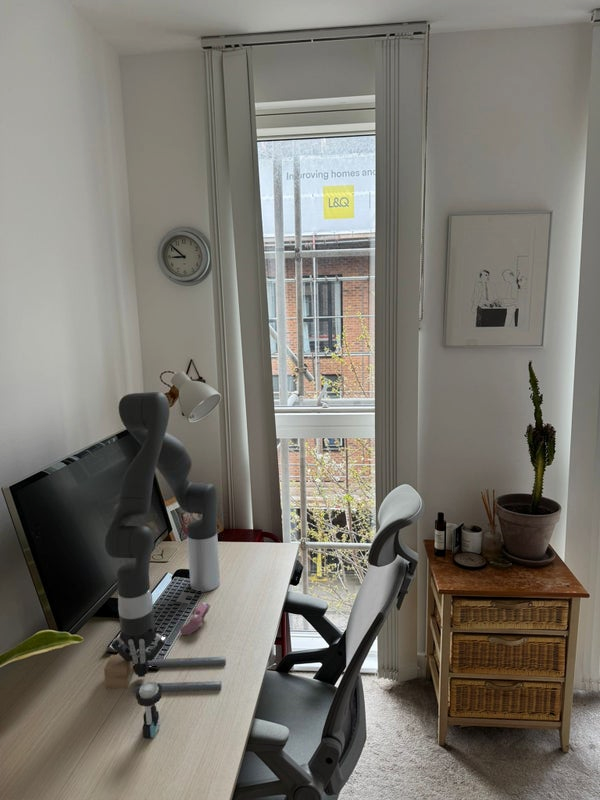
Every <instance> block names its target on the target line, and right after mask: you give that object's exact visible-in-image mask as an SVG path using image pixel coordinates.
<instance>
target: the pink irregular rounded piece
mask: <svg viewBox="0 0 600 800" xmlns="http://www.w3.org/2000/svg"><path fill="white" fill-rule="evenodd" d="M210 609H211V604H209V603H207V602H201V603H200V604H199V605H198V606H196V607H195V608H194V609H193V610H192V613H191V615H192V616H191V619H190V620H189V621H188V622H187V623H186V624H184V625H183V626H182V627H181V629H180V630H179V631H180V634H181V635H182V636H188V635H190V634H192V633H194V632H196V631H197V630H198V629H199V627H200V628H201V627H202V626H203V624H204V623H203V622H204V621H205V617H206V615H207V614H208V613H209V611H210Z"/></svg>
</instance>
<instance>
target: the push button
mask: <svg viewBox="0 0 600 800" xmlns="http://www.w3.org/2000/svg"><path fill="white" fill-rule="evenodd" d="M158 683H159V682H156V681H152V680H151V681H146V682H144V683H141V684H142V685H141V687H139V688H138V690H137V691H136V693H134V696H135V699H136V701H137V704H138V705H139V706H141V707H142V706H143V707H144V708H145V711H144V713H143V717H142V718H143V725H142V736H143V739H151V738H152V739H153V738H155V734H156V731H157V729H158V730H160V727H161V721H160V719H159V718H160V714H159V709H158V708H157V706H156V704H157V703H158V702H159V701H160V700H161V699H162V694H163V692H162V686H161V685H160V684H158Z"/></svg>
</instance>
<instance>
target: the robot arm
mask: <svg viewBox="0 0 600 800" xmlns="http://www.w3.org/2000/svg"><path fill="white" fill-rule="evenodd" d="M170 409H171V407H170V402H169V399H168V397H167V395H165V394H164V393H162V392H160V391H151V392H134V393H133V392H132V393H128V394H126V395H123V396H122V398H121V399H120V400H119V403H118V414H119V415H118V416H119V418H120V421H121V422H122V424H123V426H124V428H125V429H126V430H127V431H128V433H130V434H131V436H132V437H133V438H134V439H135V440H136V441H137V442H138V443H139V444H140V446H141V448H140V449H139V452H138V453H137V454H136V456H135V457H133V460H132V461H131V462H130V464H129V466H128V467H127V469H126V470H125V472H124V475H123V477H122V481H121V485H120V492H119V501H118V505H117V508H116V511H115V514H114V517H113V519H112V521H111V523H110V525H109V528H108V530H107V532H106V535H105V540H104V549H105V552H106V554H107V555H108V556H109V557H111V558H115V559H135V561H131V562H128V563H125V564H123V565H121V566H120V567H119V568H118V569H117V572H116V584H117V593H118V595H117V596H118V599H117V604H118V607H117V609H118V616H119V624H120V632H119V636H115V637H114V638H113V640H112V643H111V648H112V649H113V650H114V651H115V652H116V653H117V655H120V656H121V657H122V658H123V659H124V660H125V661H127V662H129V661H132V662H133V667H134V673H135V675H137V677H138V678H144V677H146V675H147V674H148V671H149V666H148V661H152V660H153V659H155V657H156V656H157V654H158V653H159V652H160V651H161V650H162V649H163V647H164V645H165V643H166V640H167V638H168V637H167V635H165V634H162V635H161V634H159V633H158V629H157V628H156V626H155V618H154V617H155V616H154V606H153V605H154V603H153V602H154V601H153V594H152V591H151V583H150V573H149V572H150V563H151V559H152V558H151V557H152V553H153V548H154V544H155V536H154V533H153V531H152V529H151V528H149V527H148V526H146V525H129V524H130V522H131V521H132V520H133V519H135V518H138V517H143V516H146V515H148V514H149V512H150V509H151V503H152V502H151V501H152V493H153V485H154V477H155V474H156V469H157V470H158V471H159V473H160V475H162V477H163V478H164V480H165V481H166V483H167V485H168V486H169V488H170V490H171V491H172V493H173V496H174V498H175V501H176V502H177V504H178V506H179V508H180V509H181V510H182V511H183V512H184V513H187V514H196V515H198V514H200V515H201V518H198V519H196V520H194V521H192V522H190V523H189V524H188V525H187V526H186V540H187V541H186V542H187V543H186V544H187V552H188V553H187V554H188V556H187V557H188V567H189V568H188V569H189V570H188V571H189V583H190V584H189V585H190V588H191V589H192V590H193V589H194V590H196V591H195V592H198V591H201V592H200V593H204V592H210V591H211V592H212V591H213V590H215V589H217V588H218V587H219V586H220V585H221V576H220V574H221V573H220V559H219V558H220V556H219V544H218V543H219V542H218V539H219V538H218V491H217V487H216V486H215V485H214V484H212V483H204V482H202V483H200V482H192V481H190V480H189V479H188V476H189V475H190V472H191V471H192V470H191V469H192V466H193V465H192V462H193V461H192V457H191V456H190V454H189V452H188V450H187V449H186V447H185V445H184V444H183V442H182V441H181V440H180V439H178V438H176V437H175V436H173V435H171V434H170V433H168V432H166V431H167V428H168V424H169V419H170V413H171V412H170ZM194 590H193V591H194ZM154 640H155V641H154ZM153 641H154V646H153V647H152V649H150V651H149V647H150V646H151V645H152V642H153Z"/></svg>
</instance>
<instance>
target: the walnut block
mask: <svg viewBox="0 0 600 800" xmlns="http://www.w3.org/2000/svg"><path fill="white" fill-rule="evenodd" d="M103 671H104V682H105V689H120V688H121V689H122V688H124V689H125V688H129V685H130V683H131V681H132V679H133V675H134V673H135V670H134V663H133V662H132V661H129V662H127V661H125V660H124V659H123V658H122V657H121V656H120V655H119V654H111V655H110V656H109V658H108V660H107V662H106V664H105V667H104V669H103Z"/></svg>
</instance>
